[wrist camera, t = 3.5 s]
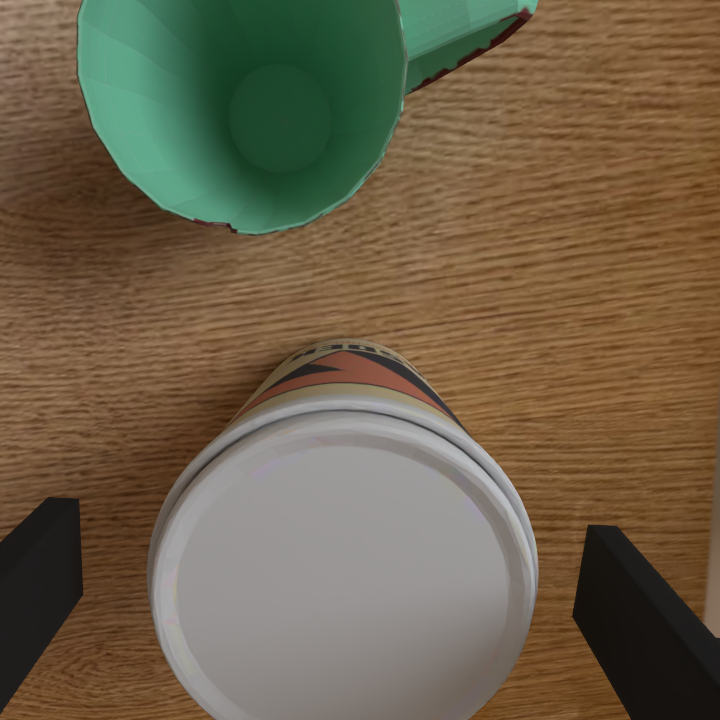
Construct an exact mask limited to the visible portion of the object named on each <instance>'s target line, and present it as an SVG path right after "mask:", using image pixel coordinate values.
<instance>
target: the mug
mask: <svg viewBox="0 0 720 720" xmlns="http://www.w3.org/2000/svg"><path fill="white" fill-rule="evenodd" d="M537 3H538V0H82V2H81V5H80V8H79V12H78V15H77V78H78V81H79V85H80V88H81V91H82V95H83V98H84V102H85V105H86V109H87V112H88V116H89V119H90V122H91V126H92V129H93V130H94V132H95V134H96V135H97V137H98V138H99V140H100V141H101V143H102V145H103V146H104V148H105V149H106V151H107V153H108V154H109V156H110V157H111V159H112V160H113V162H114V164H115V165H116V167H117V168H118V170H119V171H120V173H121V175H122V176H124V177H125V178H126V179H127V180H128V181H129V182H130V183H132V184H133V185H134V186H135V187H136V188H137V189H138V190H139V191H141V192H142V193H143V194H144V195H145V196H146V197H147V198H149V199H150V200H151V201H152V202H153V203H154V204H155V205H157V206H158V207H159V208H160V209H161V210H163V211H166V212H168V213H171V214H173V215H176V216H178V217H181V218H183V219H185V220H188V221H190V222H193V223H197V224H200V225H204V226H207V227H208V226H222V227H229V228H230V230H231V233H235V234H242V235H250V236H261V235H266V234H270V233H275V232H280V231H285V230H289V229H294V228H299V227H304V226H307V225H309V224H310V223H312V222H314V221H315V220H317V219H319V218H320V217H322V216H324V215H326V214H327V213H329V212H331V211H332V210H334V209H336V208H337V207H339V206H341V205H343V204H344V203H346V202H347V201H348V200H349V199H350V198H351V197H352V196H353V195H354V194H355V192H356V191H357V190H358V189H359V188H360V187H361V186H362V184H363V183H364V182H365V181H366V180H367V179H368V178H369V176H370V175H371V174H372V173H373V172H374V171H375V170H376V168H377V167H378V166H379V165H380V163H381V161H382V159H383V157H384V154H385V152H386V150H387V148H388V145H389V143H390V141H391V139H392V136H393V134H394V132H395V129H396V127H397V125H398V123H399V120H400V118H401V116H402V111H403V103H404V96H406V95H408V94H410V93H412V92H414V91H416V90H418V89H421V88H423V87H425V86H427V85H429V84H430V83H432V82H434V81H436V80H437V79H439V78H441V77H443V76H444V75H446V74H448V73H450V72H452V71H453V70H455V69H457V68H459V67H460V66H462V65H464V64H466V63H467V62H469V61H471V60H473V59H474V58H476V57H478V56H480V55H481V54H483V53H485V52H487V51H488V50H490V49H492V48H494V47H495V46H497V45H499V44H501V43H503V42H504V41H505V40H506V39H508V38H509V37H510V36H511V35H512V34H513V33H515V32H516V31H517V30H518V29H519V28H520V27H522V26H523V25H524V24H525V23H526V22H527V21H529V19H530V18H531V17H532V16H533V14H534V12H535V9H536V6H537Z"/></svg>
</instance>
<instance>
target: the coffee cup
mask: <svg viewBox="0 0 720 720" xmlns="http://www.w3.org/2000/svg"><path fill="white" fill-rule="evenodd" d="M538 578H539V575H538V556H537V549H536V542H535V538H534V534H533V531H532V527H531V524H530V520H529V517H528V515H527V512H526V510H525V508H524V505H523V503H522V500H521V499H520V497H519V495H518V493H517V491H516V490H515V488H514V486H513V484H512V483H511V481H510V480H509V479H508V477H507V476H506V474H505V473H504V472H503V470H502V469H501V468H500V466H499V465H498V464H497V463H496V462H495V461H494V460H493V459H492V458H491V457H490V456H489V454H488V453H487V452H486V451H485V450H484V449H483V448H482V447H481V446H480V445H478V444H477V443H476V442H475V441H474V440H473V439H472V437H471V436H470V435H469V433H468V432H467V431H466V429H465V428H464V427H463V426H462V424H461V423H460V422H459V420H458V419H457V418H456V417H455V415H454V414H453V413H452V411H451V410H450V409H449V408H448V406H447V405H446V404H445V403H444V401H443V400H442V399H441V398H440V396H439V395H438V394H437V393H436V391H435V390H434V389H433V388H432V387H431V385H430V384H429V383H428V382H427V380H426V379H425V378H424V377H423V376H422V375H421V373H420V372H419V371H418V370H417V369H416V368H415V367H414V366H413V365H412V364H411V363H409V362H408V361H407V360H406V359H405V358H404V357H402V356H401V355H399V354H398V353H396V352H394V351H393V350H391V349H389V348H387V347H384V346H382V345H379V344H376V343H373V342H370V341H365V340H360V339H349V338H344V339H332V340H325V341H322V342H318V343H315V344H312V345H310V346H307V347H305V348H303V349H301V350H300V351H298V352H296V353H294V354H293V355H291V356H290V357H289V358H287V359H286V360H285V361H284V362H282V363H281V364H280V365H279V366H278V367H277V368H276V369H275V370H274V371H273V372H272V373H271V374H270V375H269V376H268V378H267V379H266V380H265V381H264V382H263V383H262V385H261V386H260V387H259V388H258V389H257V390H256V391H255V393H254V394H253V395H252V396H251V397H250V398H249V400H248V401H247V402H246V403H245V404H244V405H243V406H242V408H241V409H240V410H239V411H238V412H237V414H236V415H235V416H234V417H233V418H232V420H231V421H230V422H229V423H228V424H227V426H226V427H225V428H224V429H223V431H222V432H221V433H220V434H219V436H218V437H217V438H215V439H214V440H213V441H212V442H210V443H209V444H208V445H207V446H206V447H205V448H204V449H203V450H202V451H201V452H200V453H199V454H198V455H197V456H196V457H195V458H194V459H193V460H192V461H191V462H190V463H189V464H188V466H187V467H186V468H185V470H184V471H183V472H182V473H181V475H180V476H179V477H178V479H177V480H176V482H175V483H174V485H173V487H172V488H171V490H170V492H169V493H168V495H167V497H166V499H165V501H164V503H163V505H162V508H161V510H160V512H159V514H158V517H157V520H156V523H155V526H154V530H153V533H152V536H151V540H150V546H149V552H148V558H147V591H148V599H149V604H150V609H151V614H152V619H153V623H154V627H155V631H156V635H157V638H158V641H159V645H160V648H161V650H162V652H163V654H164V656H165V659H166V661H167V663H168V665H169V667H170V668H171V670H172V672H173V673H174V675H175V676H176V678H177V680H178V681H179V682H180V684H181V685H182V686H183V688H184V689H185V690H186V692H187V693H188V694H189V696H190V697H191V698H192V699H193V700H194V701H195V702H196V703H198V704H199V705H200V706H201V707H202V708H203V709H204V710H205V711H206V712H207V713H208V714H209V715H210V716H212V717H213V718H214V719H215V720H468V719H469V718H470V717H471V716H473V715H474V714H475V713H476V712H477V711H478V710H479V709H480V708H482V707H483V706H484V705H485V704H486V703H487V702H488V701H489V700H490V699H491V698H492V697H493V696H494V695H495V693H496V692H497V691H498V689H499V688H500V687H501V685H502V684H503V683H504V682H505V680H506V679H507V677H508V675H509V674H510V672H511V671H512V669H513V668H514V666H515V664H516V662H517V660H518V658H519V656H520V654H521V652H522V649H523V647H524V644H525V641H526V638H527V634H528V631H529V627H530V623H531V619H532V616H533V611H534V607H535V602H536V598H537V589H538Z"/></svg>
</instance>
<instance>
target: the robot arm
mask: <svg viewBox="0 0 720 720" xmlns="http://www.w3.org/2000/svg"><path fill="white" fill-rule="evenodd" d="M82 596H83V581H82V557H81V533H80V510H79V499H75V498H55V497H48V498H47V499H46V500H45V501H44V502H43V503H41V504H40V505H39V506H38V507H37V508H36V509H35V510H34V511H33V512H32V513H31V514H30V515H29V516H28V517H27V518H26V519H24V520H23V521H22V522H21V523H20V524H19V525H18V526H17V527H16V528H15V529H14V530H13V531H12V532H11V533H10V534H9V535H7V536H6V537H5V538H4V539H3V540H2V541H1V542H0V714H1V712H2V711H3V709H4V708H5V707H6V705H7V704H8V702H9V701H10V699H11V698H12V696H13V695H14V694H15V692H16V691H17V689H18V688H19V686H20V685H21V683H22V682H23V681H24V679H25V678H26V676H27V675H28V673H29V672H30V670H31V669H32V668H33V666H34V665H35V663H36V662H37V660H38V659H39V658H40V656H41V655H42V653H43V652H44V650H45V649H46V647H47V646H48V645H49V643H50V642H51V640H52V639H53V637H54V636H55V634H56V633H57V632H58V630H59V629H60V627H61V626H62V624H63V623H64V621H65V620H66V619H67V617H68V616H69V614H70V613H71V611H72V610H73V608H74V607H75V606H76V604H77V603H78V601H79V600H80V598H81V597H82ZM572 617H573V619H574V620H575V622H576V624H577V626H578V627H579V629H580V631H581V633H582V634H583V636H584V638H585V639H586V641H587V643H588V645H589V646H590V648H591V650H592V652H593V653H594V655H595V657H596V659H597V660H598V662H599V664H600V666H601V667H602V669H603V671H604V673H605V674H606V676H607V678H608V680H609V681H610V683H611V685H612V687H613V688H614V690H615V692H616V694H617V695H618V697H619V699H620V701H621V702H622V704H623V706H624V708H625V709H626V711H627V713H628V714H629V716H630V718H631V720H720V638H715V636H714V635H713V634H712V633H711V632H710V631H709V630H708V629H707V627H706V626H705V625H704V624H703V623H702V622H701V621H700V619H699V618H698V617H697V616H696V615H695V614H694V613H693V612H692V610H691V609H690V608H689V607H688V606H687V605H686V604H685V603H684V601H683V600H682V599H681V598H680V597H679V596H678V595H677V594H676V592H675V591H674V590H673V589H672V588H671V587H670V586H669V584H668V583H667V582H666V581H665V580H664V579H663V578H662V577H661V575H660V574H659V573H658V572H657V571H656V570H655V569H654V568H653V566H652V565H651V564H650V563H649V562H648V561H647V560H646V559H645V557H644V556H643V555H642V554H641V553H640V552H639V551H638V550H637V548H636V547H635V546H634V545H633V544H632V543H631V542H630V540H629V539H628V538H627V537H626V536H625V535H624V534H623V533H622V531H621V530H620V529H619V528H618V527H617V526H608V525H588V527H587V533H586V539H585V545H584V551H583V556H582V562H581V568H580V574H579V580H578V586H577V591H576V597H575V603H574V609H573V615H572Z"/></svg>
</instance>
